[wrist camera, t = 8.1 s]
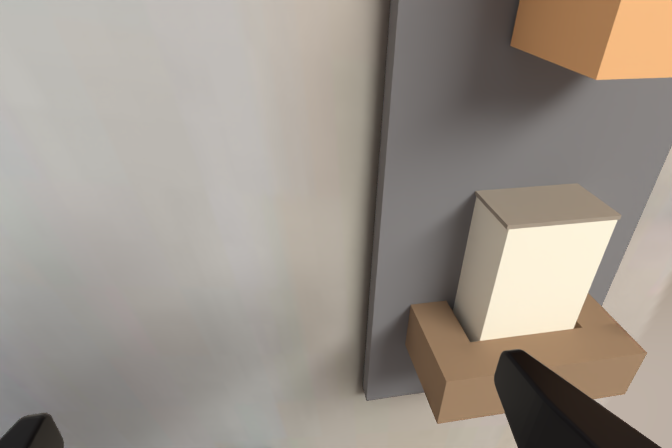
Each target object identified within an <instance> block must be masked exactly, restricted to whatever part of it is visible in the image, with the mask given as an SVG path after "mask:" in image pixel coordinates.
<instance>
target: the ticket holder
mask: <svg viewBox="0 0 672 448" xmlns="http://www.w3.org/2000/svg"><path fill="white" fill-rule="evenodd" d="M519 1H520V0H391V3H390V16H389V30H388V44H387V58H386V72H385V86H384V100H383V114H382V127H381V141H380V155H379V169H378V183H377V197H376V211H375V225H374V239H373V252H372V266H371V280H370V294H369V308H368V322H367V336H366V350H365V364H364V377H363V390H364V393H365V397H366V401H368V400H375V399H382V398H388V397H395V396H402V395H409V394H416V393H423V392H425V395H426V397H427V400H428V402H429V405H430V407H431V409H432V412H433V414H434V417H435V419H436V422H437V424H439V423H446V422H452V421H458V420H465V419H471V418H477V417H484V416H490V415H496V414H503V413H505V412H504V409H503V406H502V404H501V401H500V398H499V396H498V393H497V390H496V387H495V384H494V374H495V371H496V367H497V364H498V361H499V357H500V354H501V353H502V352H503V351H505V350H513V349H521V350H524V351H525V352H527V353H528V354H530V355H531V356H532V357H534V358H535V359H537V360H538V361H539V362H541V363H542V364H544V365H545V366H547V367H548V368H549V369H551V370H552V371H554V372H555V373H556V374H558V375H559V376H561V377H562V378H563V379H565V380H566V381H568V382H569V383H571V384H572V385H573V386H575V387H576V388H578V389H579V390H580V391H582V392H583V393H585V394H586V395H588V396H589V397H590V398H592V399H597V398H604V397H610V396H616V395H622V394H625V392H626V391H627V389H628V387H629V385H630V383H631V382H632V380H633V378H634V376H635V374H636V372H637V371H638V369H639V367H640V365H641V363H642V362H643V359H644V358H645V356H646V354H647V352H646V351H645V350H644V349H643V348H642V347H641V346H640V345H639V344H638V343H637V342H636V341H635V340H634V339H633V338H632V337H631V336H630V335H629V334H628V333H627V332H626V331H625V330H624V329H623V328H622V327H621V326H620V325H619V324H618V323H617V322H616V321H615V320H614V319H613V318H612V317H611V316H610V315H609V314H608V313H607V312H606V311H605V309H604V308H603V307H602V304H603V302H604V299H605V297H606V295H607V293H608V290H609V288H610V286H611V283H612V281H613V279H614V277H615V274H616V272H617V270H618V267H619V265H620V263H621V261H622V258H623V256H624V254H625V251H626V249H627V247H628V245H629V242H630V240H631V238H632V235H633V233H634V231H635V228H636V226H637V224H638V222H639V219H640V217H641V215H642V212H643V210H644V208H645V206H646V203H647V201H648V199H649V196H650V194H651V192H652V190H653V187H654V185H655V183H656V180H657V178H658V176H659V174H660V171H661V169H662V167H663V164H664V162H665V160H666V158H667V155H668V153H669V151H670V148H671V146H672V77H669V78H639V79H610V80H595V79H592V78H590V77H587V76H585V75H582V74H580V73H577V72H575V71H572V70H570V69H567V68H565V67H562V66H560V65H557V64H555V63H552V62H550V61H547V60H545V59H542V58H540V57H537V56H535V55H532V54H530V53H527V52H524V51H522V50H519V49H517V48H514V47H512V46H510V44H511V39H512V35H513V30H514V25H515V20H516V15H517V11H518V6H519Z"/></svg>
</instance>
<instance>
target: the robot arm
mask: <svg viewBox="0 0 672 448" xmlns="http://www.w3.org/2000/svg"><path fill="white" fill-rule="evenodd" d="M494 384H495V387H496V390H497V393H498V396H499V398H500V401H501V404H502V406H503V409H504V412H505V414H506V417H507V420H508V422H509V425H510V428H511V431H512V433H513V436H514V439H515V441H516V444H517V446H518V448H661V447H660V446H658V445H657V444H655V443H654V442H653V441H651V440H650V439H648V438H647V437H646V436H644V435H643V434H641V433H640V432H638V431H637V430H636V429H634V428H633V427H631V426H630V425H629V424H627V423H626V422H624V421H623V420H621V419H620V418H619V417H617V416H616V415H614V414H613V413H611V412H610V411H609V410H607V409H606V408H605V407H603V406H602V405H600V404H599V403H597V402H596V401H595V400H593V399H592V398H590V397H589V396H588V395H586V394H585V393H583V392H582V391H580V390H579V389H578V388H576V387H575V386H573V385H572V384H571V383H569V382H568V381H566V380H565V379H563V378H562V377H561V376H559V375H558V374H556V373H555V372H554V371H552V370H551V369H549V368H548V367H547V366H545V365H544V364H542V363H541V362H539V361H538V360H537V359H535V358H534V357H532V356H531V355H530V354H528V353H527V352H525V351H524V350H521V349H513V350H505V351H503V352H502V353H501V354H500V357H499V361H498V364H497V367H496V371H495V374H494ZM0 448H64V442H63V438H62V436H61V434H60V432H59V430H58V428H57V426H56V424H55V422H54V420H53V418H52V416H51V415H50V414H48V413H39V414H32V415H27V416H24V417H22V418H21V419H19V420H18V421H17V422H16V423H15V424H14V425H13V426H12V427H11V428H10V430H9V431H8V432H7V433H6V434H5V435H4V436H3V437H2V438H1V439H0Z"/></svg>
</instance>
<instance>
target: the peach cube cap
mask: <svg viewBox="0 0 672 448" xmlns="http://www.w3.org/2000/svg"><path fill="white" fill-rule="evenodd" d="M510 46H512V47H514V48H517V49H519V50H522V51H524V52H527V53H530V54H532V55H535V56H537V57H540V58H542V59H545V60H547V61H550V62H552V63H555V64H557V65H560V66H562V67H565V68H567V69H570V70H572V71H575V72H577V73H580V74H582V75H585V76H587V77H590V78H592V79H595V80H610V79H639V78H669V77H672V0H520V1H519V6H518V11H517V15H516V20H515V25H514V30H513V35H512V39H511V44H510Z"/></svg>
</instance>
